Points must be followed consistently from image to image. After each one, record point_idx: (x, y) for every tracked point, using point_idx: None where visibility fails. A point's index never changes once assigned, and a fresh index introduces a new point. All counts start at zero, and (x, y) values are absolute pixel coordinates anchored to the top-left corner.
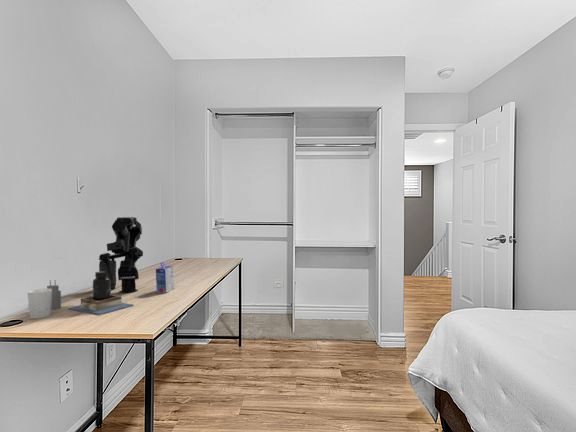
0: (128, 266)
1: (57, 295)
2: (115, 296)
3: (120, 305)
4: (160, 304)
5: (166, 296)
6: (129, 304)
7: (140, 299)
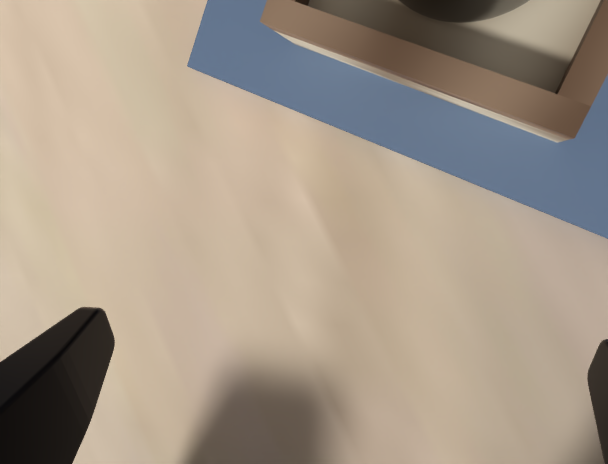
0: (35, 367)
1: None
2: (336, 17)
3: None
4: (18, 135)
5: None
6: (225, 63)
7: (249, 313)
